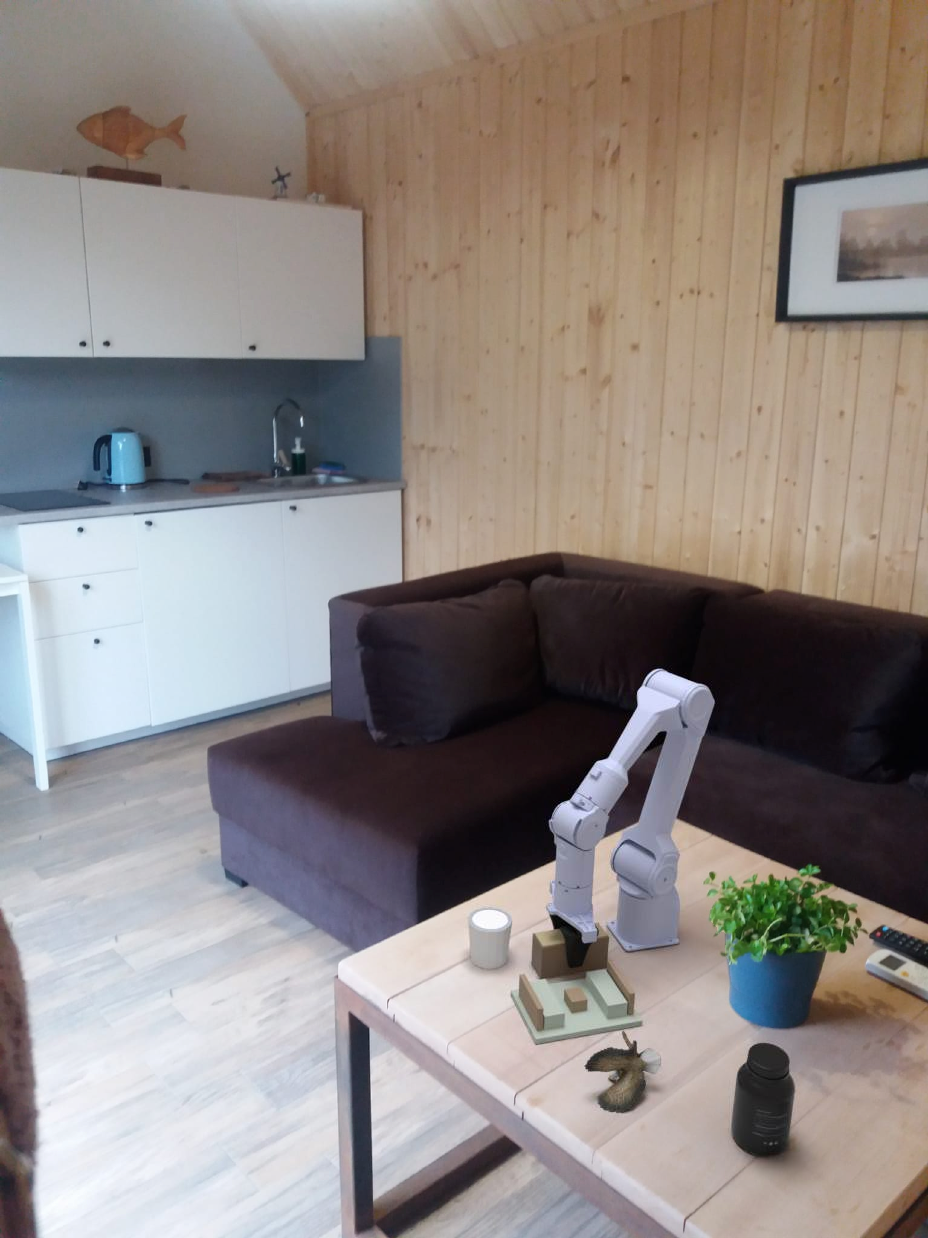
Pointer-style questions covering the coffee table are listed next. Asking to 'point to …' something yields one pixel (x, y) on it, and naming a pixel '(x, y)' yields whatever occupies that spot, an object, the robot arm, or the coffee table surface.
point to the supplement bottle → (763, 1101)
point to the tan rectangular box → (553, 957)
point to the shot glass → (489, 937)
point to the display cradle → (576, 1005)
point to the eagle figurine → (623, 1073)
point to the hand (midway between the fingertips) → (569, 957)
